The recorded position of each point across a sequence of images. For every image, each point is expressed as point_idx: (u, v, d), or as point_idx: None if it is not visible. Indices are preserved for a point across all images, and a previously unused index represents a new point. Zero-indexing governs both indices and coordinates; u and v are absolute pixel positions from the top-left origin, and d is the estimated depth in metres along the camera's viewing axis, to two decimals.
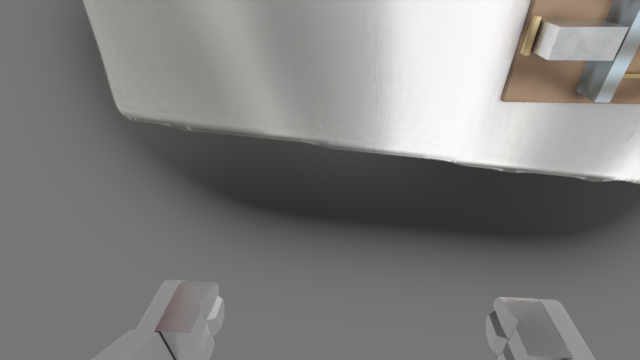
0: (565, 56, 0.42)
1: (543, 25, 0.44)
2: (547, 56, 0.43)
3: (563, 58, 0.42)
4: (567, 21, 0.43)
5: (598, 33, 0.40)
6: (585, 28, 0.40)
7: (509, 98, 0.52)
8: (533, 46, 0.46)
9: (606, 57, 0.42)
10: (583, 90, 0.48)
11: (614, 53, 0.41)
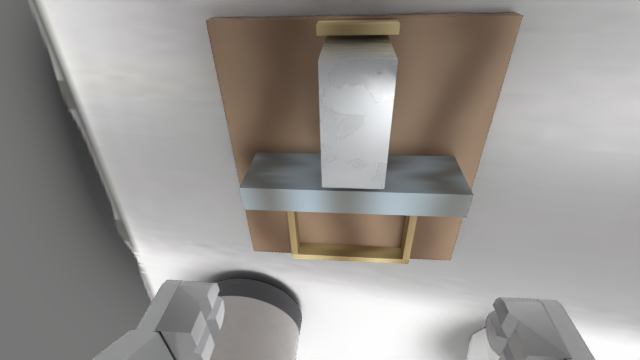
0: (328, 98, 0.18)
1: (382, 42, 0.19)
2: (325, 58, 0.17)
3: (323, 95, 0.18)
4: None
5: (375, 145, 0.19)
6: (388, 117, 0.18)
7: (215, 32, 0.22)
8: (335, 40, 0.20)
9: (327, 174, 0.20)
10: (258, 164, 0.26)
11: (335, 185, 0.21)
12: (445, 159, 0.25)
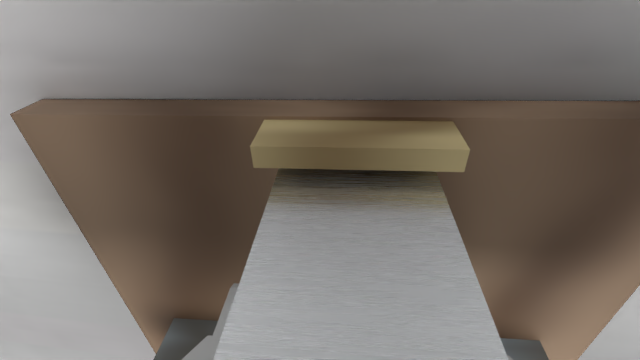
0: None
1: (423, 195, 0.07)
2: (246, 338, 0.05)
3: None
4: None
5: None
6: None
7: (39, 137, 0.10)
8: (303, 175, 0.08)
9: None
10: None
11: None
12: (524, 351, 0.13)
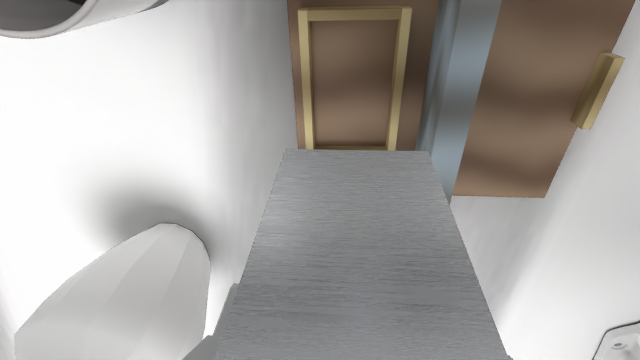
0: None
1: (424, 196, 0.07)
2: (245, 339, 0.05)
3: None
4: None
5: None
6: None
7: None
8: (303, 175, 0.08)
9: None
10: None
11: None
12: None
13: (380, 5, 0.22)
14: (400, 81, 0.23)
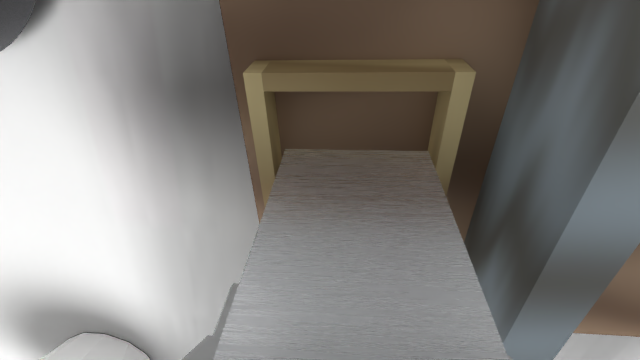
0: None
1: (424, 195, 0.07)
2: (245, 339, 0.05)
3: None
4: None
5: None
6: None
7: None
8: (303, 175, 0.08)
9: None
10: None
11: None
12: None
13: (407, 58, 0.11)
14: None
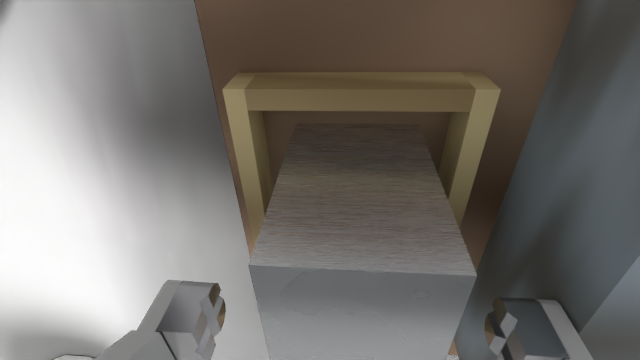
0: (284, 328, 0.07)
1: (413, 157, 0.09)
2: (273, 249, 0.06)
3: (272, 324, 0.07)
4: None
5: None
6: None
7: None
8: (312, 142, 0.10)
9: None
10: None
11: None
12: None
13: (416, 71, 0.09)
14: None
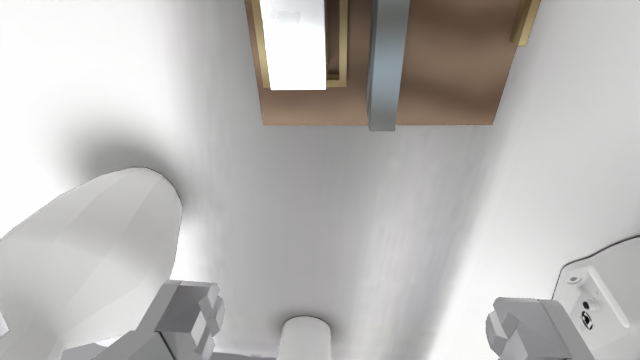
0: None
1: None
2: None
3: None
4: (326, 1, 0.24)
5: (313, 43, 0.22)
6: (321, 14, 0.21)
7: None
8: None
9: (274, 76, 0.23)
10: None
11: (282, 86, 0.23)
12: None
13: None
14: None
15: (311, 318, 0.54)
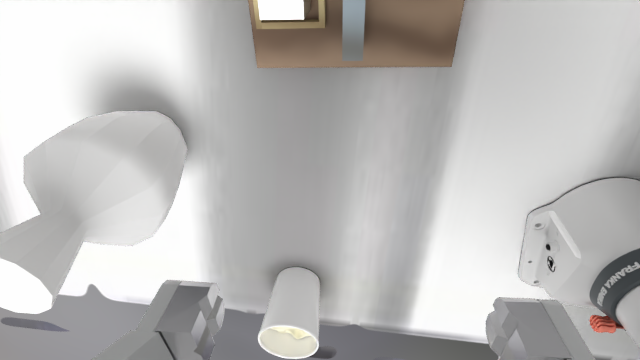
0: None
1: None
2: None
3: None
4: None
5: None
6: None
7: None
8: None
9: (262, 7, 0.29)
10: None
11: (269, 17, 0.29)
12: None
13: None
14: None
15: (302, 268, 0.59)
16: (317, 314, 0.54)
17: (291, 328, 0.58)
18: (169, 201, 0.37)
